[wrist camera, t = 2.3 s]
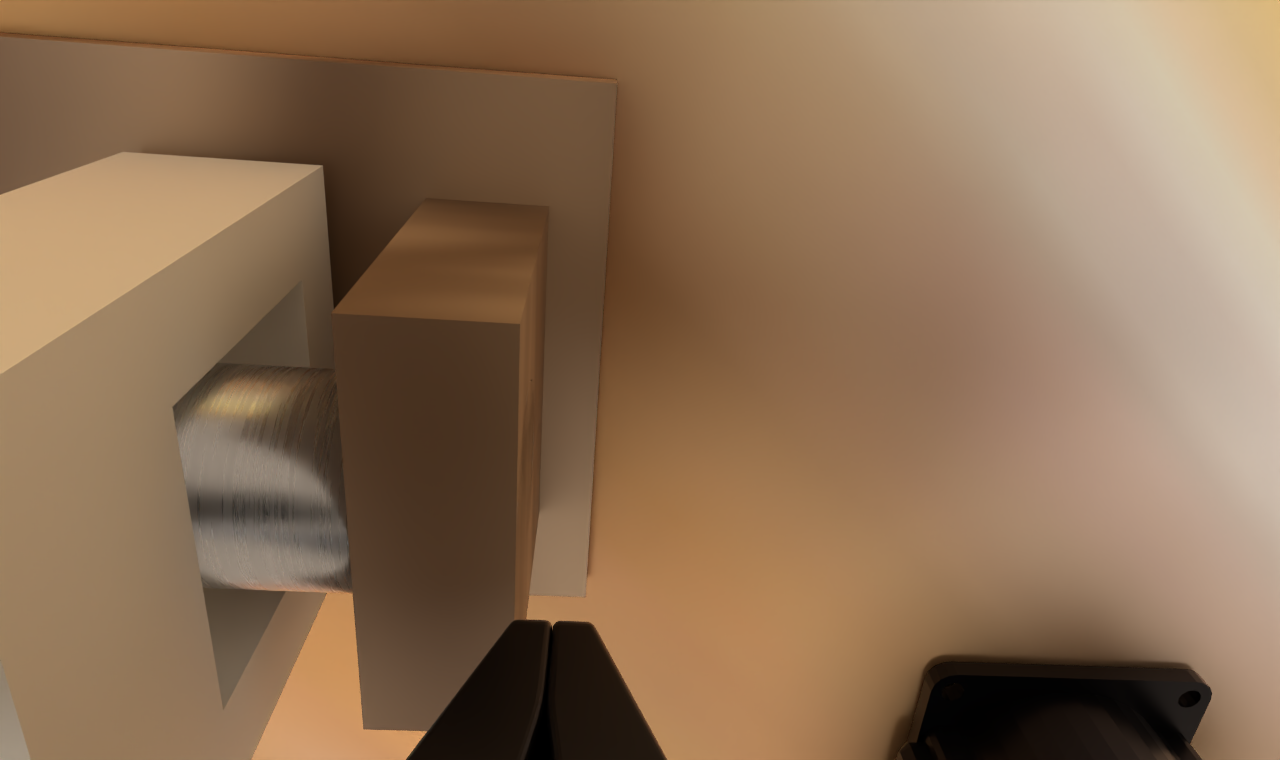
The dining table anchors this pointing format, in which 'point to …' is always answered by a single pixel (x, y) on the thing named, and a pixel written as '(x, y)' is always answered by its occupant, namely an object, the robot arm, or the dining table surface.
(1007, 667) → the robot arm
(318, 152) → the wall mounted rod holder
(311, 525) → the pipe
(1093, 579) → the dining table surface
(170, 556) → the collar
